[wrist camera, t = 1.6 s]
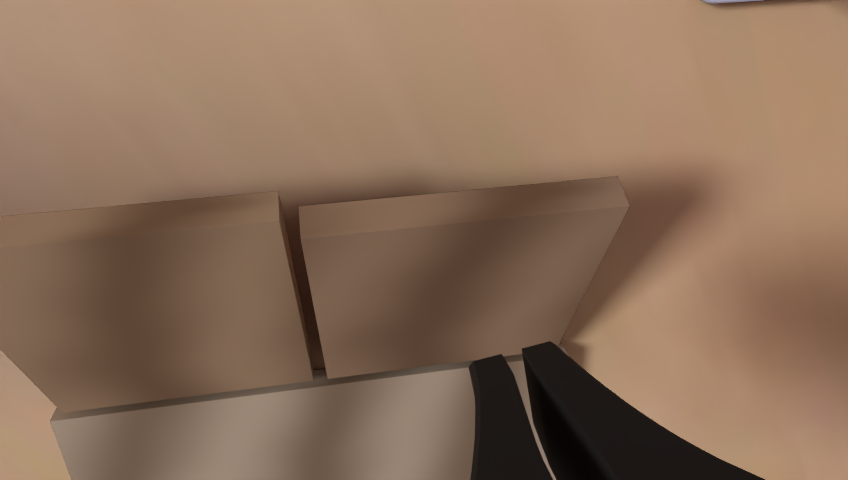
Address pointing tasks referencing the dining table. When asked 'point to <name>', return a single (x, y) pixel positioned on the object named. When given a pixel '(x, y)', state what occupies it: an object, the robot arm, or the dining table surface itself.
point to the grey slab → (291, 430)
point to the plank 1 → (152, 300)
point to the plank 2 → (454, 271)
